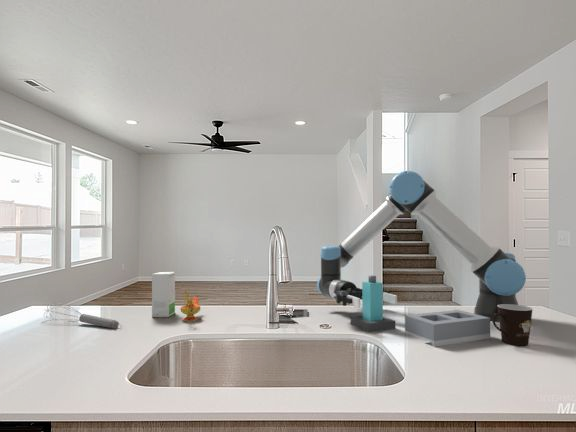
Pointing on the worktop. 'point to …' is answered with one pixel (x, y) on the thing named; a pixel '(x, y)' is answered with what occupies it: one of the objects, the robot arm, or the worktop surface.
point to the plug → (372, 299)
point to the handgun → (296, 314)
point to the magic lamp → (190, 307)
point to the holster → (372, 324)
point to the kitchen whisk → (90, 319)
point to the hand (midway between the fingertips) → (378, 301)
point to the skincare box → (163, 294)
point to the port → (448, 327)
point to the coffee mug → (514, 324)
